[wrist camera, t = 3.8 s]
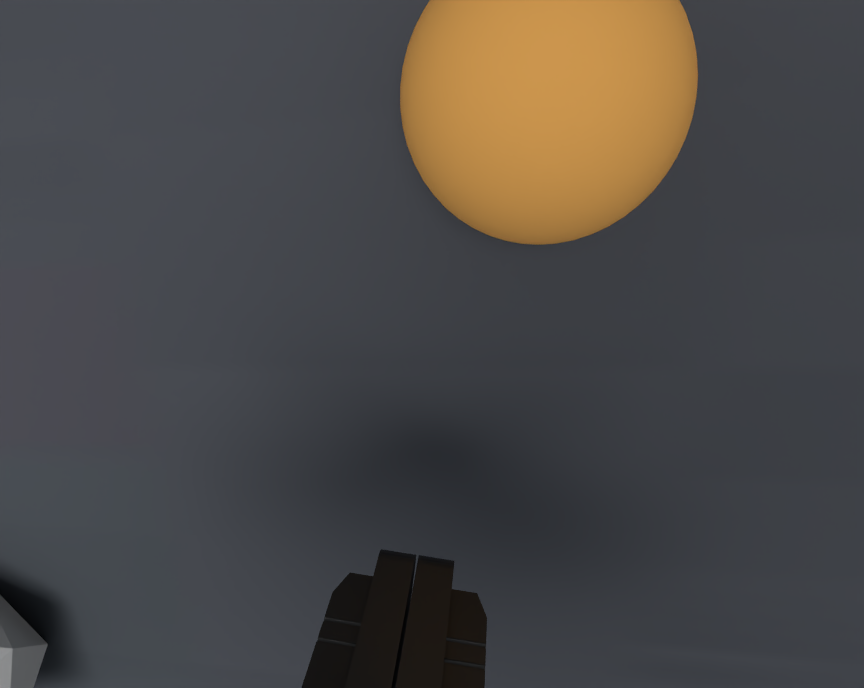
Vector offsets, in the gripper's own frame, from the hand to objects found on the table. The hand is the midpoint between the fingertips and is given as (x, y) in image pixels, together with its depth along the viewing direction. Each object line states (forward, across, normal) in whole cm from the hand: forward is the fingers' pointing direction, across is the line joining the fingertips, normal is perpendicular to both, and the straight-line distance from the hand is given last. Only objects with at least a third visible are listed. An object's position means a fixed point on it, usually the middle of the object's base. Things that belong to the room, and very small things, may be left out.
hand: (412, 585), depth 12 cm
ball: (+5, -1, -9) cm, 10 cm away
